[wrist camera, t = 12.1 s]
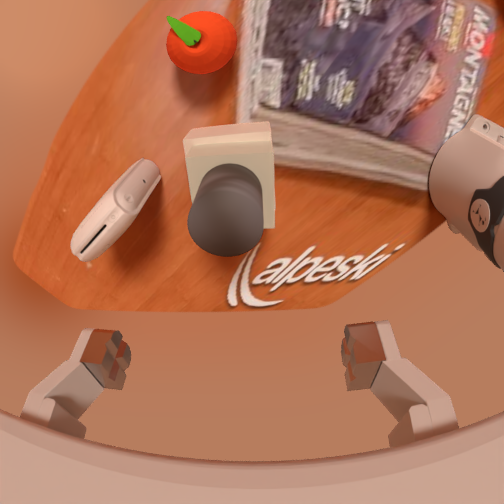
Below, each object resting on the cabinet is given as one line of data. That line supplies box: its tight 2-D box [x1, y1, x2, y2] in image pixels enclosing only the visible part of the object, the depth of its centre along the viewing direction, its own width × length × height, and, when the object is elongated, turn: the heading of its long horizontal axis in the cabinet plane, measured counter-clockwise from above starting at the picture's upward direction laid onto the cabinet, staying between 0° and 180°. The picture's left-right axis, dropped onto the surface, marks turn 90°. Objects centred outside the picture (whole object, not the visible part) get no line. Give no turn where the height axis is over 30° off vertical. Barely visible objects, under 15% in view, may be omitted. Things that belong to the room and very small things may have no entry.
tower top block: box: [185, 141, 275, 229], centre depth 31 cm, size 8×8×4 cm
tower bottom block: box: [183, 121, 276, 209], centre depth 34 cm, size 9×9×5 cm
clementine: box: [166, 11, 237, 74], centre depth 24 cm, size 8×7×7 cm
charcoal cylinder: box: [188, 163, 264, 257], centre depth 27 cm, size 6×6×6 cm
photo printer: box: [71, 158, 161, 262], centre depth 33 cm, size 10×4×12 cm, turn 129°
